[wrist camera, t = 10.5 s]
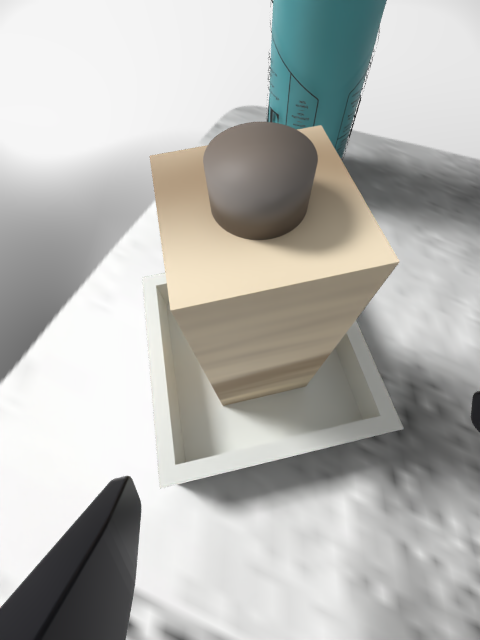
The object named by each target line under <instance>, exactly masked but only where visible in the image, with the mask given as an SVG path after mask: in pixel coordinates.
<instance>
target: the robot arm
mask: <svg viewBox="0 0 480 640" xmlns="http://www.w3.org/2000/svg"><path fill="white" fill-rule="evenodd" d="M471 420H472V423H473V425H474V426H475V428H476V429H477V430H478V431H479V432H480V391H477V392H475V393H474V395H473V400H472V411H471ZM140 520H141V501H140V498H139V495H138V493H137V490H136V488H135V485H134V483H133V480H132V478H131V477H130V476H124V477H120V478H116V479H113V480H111V481H110V482H109V483H108V485H107V486H106V487H105V488H104V489H103V490H102V492H101V493H100V494H99V495H98V496H97V497H96V498H95V500H94V501H93V502H92V503H91V504H90V505H89V506H88V508H87V509H86V510H85V511H84V512H83V513H82V515H81V516H80V517H79V518H78V519H77V520H76V521H75V523H74V524H73V525H72V526H71V527H70V528H69V529H68V531H67V532H66V533H65V534H64V535H63V536H62V538H61V539H60V540H59V541H58V542H57V543H56V544H55V546H54V547H53V548H52V549H51V550H50V551H49V552H48V554H47V555H46V556H45V557H44V558H43V559H42V560H41V562H40V563H39V564H38V565H37V566H36V567H35V569H34V570H33V571H32V572H31V573H30V574H29V575H28V577H27V578H26V579H25V580H24V581H23V582H22V583H21V585H20V586H19V587H18V588H17V589H16V590H15V592H14V593H13V594H12V595H11V596H10V597H9V598H8V600H7V601H6V602H5V603H4V604H3V605H2V606H1V608H0V640H126V635H127V629H128V623H129V617H130V612H131V606H132V600H133V594H134V587H135V579H136V569H137V556H138V544H139V532H140Z"/></svg>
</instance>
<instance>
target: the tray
mask: <svg viewBox="0 0 480 640" xmlns="http://www.w3.org/2000/svg"><path fill="white" fill-rule="evenodd" d="M142 284H143V296H144V308H145V320H146V331H147V343H148V355H149V367H150V379H151V391H152V403H153V415H154V426H155V438H156V450H157V462H158V474H159V486H160V489H161V488H165V487H169V486H173V485H177V484H181V483H185V482H189V481H193V480H197V479H201V478H206V477H210V476H214V475H218V474H222V473H226V472H230V471H234V470H238V469H242V468H246V467H251V466H255V465H259V464H263V463H267V462H271V461H275V460H279V459H283V458H287V457H291V456H296V455H300V454H304V453H308V452H312V451H316V450H320V449H324V448H328V447H332V446H336V445H341V444H345V443H349V442H353V441H357V440H361V439H365V438H369V437H373V436H377V435H381V434H386V433H390V432H394V431H398V430H402V429H404V428H403V426H402V423H401V421H400V419H399V417H398V414H397V412H396V410H395V407H394V405H393V403H392V401H391V398H390V396H389V394H388V391H387V389H386V387H385V385H384V382H383V380H382V378H381V375H380V373H379V371H378V369H377V366H376V364H375V362H374V359H373V357H372V355H371V353H370V350H369V348H368V346H367V343H366V341H365V339H364V337H363V334H362V332H361V330H360V327H359V325H358V323H357V321H356V320H355V322H354V323H353V324H352V326H351V327H350V328H349V330H348V331H347V332H346V334H345V335H344V336H343V338H342V339H341V340H340V342H339V343H338V344H337V346H336V347H335V348H334V350H333V351H332V352H331V354H330V355H329V356H328V358H327V359H326V360H325V362H324V363H323V364H322V366H321V367H320V368H319V370H318V371H317V372H316V374H315V375H314V376H313V378H312V379H311V380H310V382H309V383H308V384H307V386H305V387H301V388H297V389H293V390H288V391H284V392H280V393H276V394H271V395H267V396H263V397H259V398H254V399H250V400H246V401H242V402H238V403H233V404H229V405H225V406H223V405H222V404H221V402H220V400H219V398H218V396H217V394H216V393H215V391H214V389H213V387H212V385H211V383H210V382H209V380H208V378H207V376H206V374H205V373H204V371H203V369H202V367H201V365H200V363H199V362H198V360H197V358H196V356H195V354H194V352H193V351H192V349H191V347H190V345H189V343H188V342H187V340H186V338H185V336H184V334H183V332H182V331H181V329H180V327H179V325H178V323H177V322H176V320H175V318H174V316H173V314H172V312H171V311H170V303H169V296H168V288H167V281H166V274H165V273H161V274H156V275H151V276H146V277H142Z"/></svg>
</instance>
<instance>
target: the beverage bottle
mask: <svg viewBox="0 0 480 640" xmlns="http://www.w3.org/2000/svg"><path fill="white" fill-rule="evenodd" d="M386 1H387V0H274V1H272V3H273V19H272V31H271V32H272V44H271V68H270V69H271V70H270V89H269V91H270V96H269V107H268V119H267V116H266V120H267V122H273V123H279V124H283V125H286V126H289V127H292V128H294V129H296V130H297V129H303V128H308V127H314V126H319V125H322V127H323V129H324V131H325V132H326V134H327V136H328V138H329V139H330V141H331V143H332V145H333V146H334V148H335V150H336V152H337V153H338V155H339V157H340V159H341V158H342V156H343V152H344V150H345V149H346V148H347V147H346V146H345V145H346V142H347V145H348V141H347V140H348V139H347V138H348V136H349V138H350V135H351V131H352V128H353V124H354V121H355V118H356V114H357V111H358V108H357V111H356V107H357V104H358V100H359V98H360V101H361V95H360V93H361V90H362V87H363V83H364V80H365V76H366V73H367V70H368V66H369V63H370V59H371V56H372V52H373V49H374V45H375V41H376V37H377V33H378V29H379V26H380V22H381V18H382V15H383V11H384V8H385V4H386ZM370 64H371V63H370ZM365 84H366V83H365ZM360 101H359V104H360ZM358 107H359V105H358ZM355 111H356V114H355ZM353 117H354V121H353ZM352 122H353V124H352ZM351 124H352V125H351ZM351 126H352V128H351ZM350 128H351V131H350ZM349 131H350V135H349ZM345 152H346V151H345ZM344 156H345V154H344ZM343 158H344V157H343ZM342 160H343V159H342Z"/></svg>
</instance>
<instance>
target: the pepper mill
mask: <svg viewBox="0 0 480 640" xmlns="http://www.w3.org/2000/svg"><path fill="white" fill-rule="evenodd" d="M150 162H151V169H152V177H153V184H154V192H155V199H156V207H157V214H158V222H159V229H160V236H161V244H162V251H163V259H164V266H165V274H166V281H167V288H168V296H169V303H170V311H171V312H172V314H173V316H174V318H175V320H176V322H177V323H178V325H179V327H180V329H181V331H182V332H183V334H184V336H185V338H186V340H187V342H188V343H189V345H190V347H191V349H192V351H193V352H194V354H195V356H196V358H197V360H198V362H199V363H200V365H201V367H202V369H203V371H204V373H205V374H206V376H207V378H208V380H209V382H210V383H211V385H212V387H213V389H214V391H215V393H216V394H217V396H218V398H219V400H220V402H221V404H222V405H223V406H225V405H229V404H233V403H238V402H242V401H246V400H250V399H254V398H259V397H263V396H267V395H271V394H276V393H280V392H284V391H288V390H293V389H297V388H301V387H305V386H307V384H308V383H309V382H310V380H311V379H312V378H313V376H314V375H315V374H316V372H317V371H318V370H319V368H320V367H321V366H322V364H323V363H324V362H325V360H326V359H327V358H328V356H329V355H330V354H331V352H332V351H333V350H334V348H335V347H336V346H337V344H338V343H339V342H340V340H341V339H342V338H343V336H344V335H345V334H346V332H347V331H348V330H349V328H350V327H351V326H352V324H353V323H354V322H355V320H356V319H357V318H358V316H359V315H360V314H361V312H362V311H363V310H364V308H365V307H366V306H367V304H368V303H369V302H370V301H371V299H372V298H373V297H374V295H375V294H376V293H377V291H378V290H379V289H380V287H381V286H382V285H383V283H384V282H385V281H386V279H387V278H388V277H389V275H390V274H391V273H392V271H393V270H394V269H395V267H396V266H397V265H398V263H399V260H398V258H397V256H396V255H395V253H394V251H393V249H392V248H391V246H390V244H389V242H388V241H387V239H386V237H385V235H384V234H383V232H382V230H381V228H380V227H379V225H378V223H377V221H376V220H375V218H374V216H373V214H372V213H371V211H370V209H369V207H368V206H367V204H366V202H365V200H364V199H363V197H362V195H361V193H360V192H359V190H358V188H357V187H356V185H355V183H354V181H353V180H352V178H351V176H350V174H349V173H348V171H347V169H346V167H345V166H344V164H343V162H342V160H341V159H340V157H339V155H338V153H337V152H336V150H335V148H334V146H333V145H332V143H331V141H330V139H329V138H328V136H327V134H326V132H325V131H324V129H323V127H322V125H319V126H314V127H308V128H303V129H297V130H296V129H294V128H292V127H289V126H286V125H283V124H279V123H273V122H251V123H245V124H240V125H237V126H234V127H231V128H229V129H227V130H225V131H223V132H221V133H220V134H218V135H217V136H216V137H215V138H214V139H213V140H212V141H211V142H210V143H209V145H207V146H202V147H196V148H191V149H185V150H179V151H174V152H168V153H162V154H157V155H151V156H150Z"/></svg>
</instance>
